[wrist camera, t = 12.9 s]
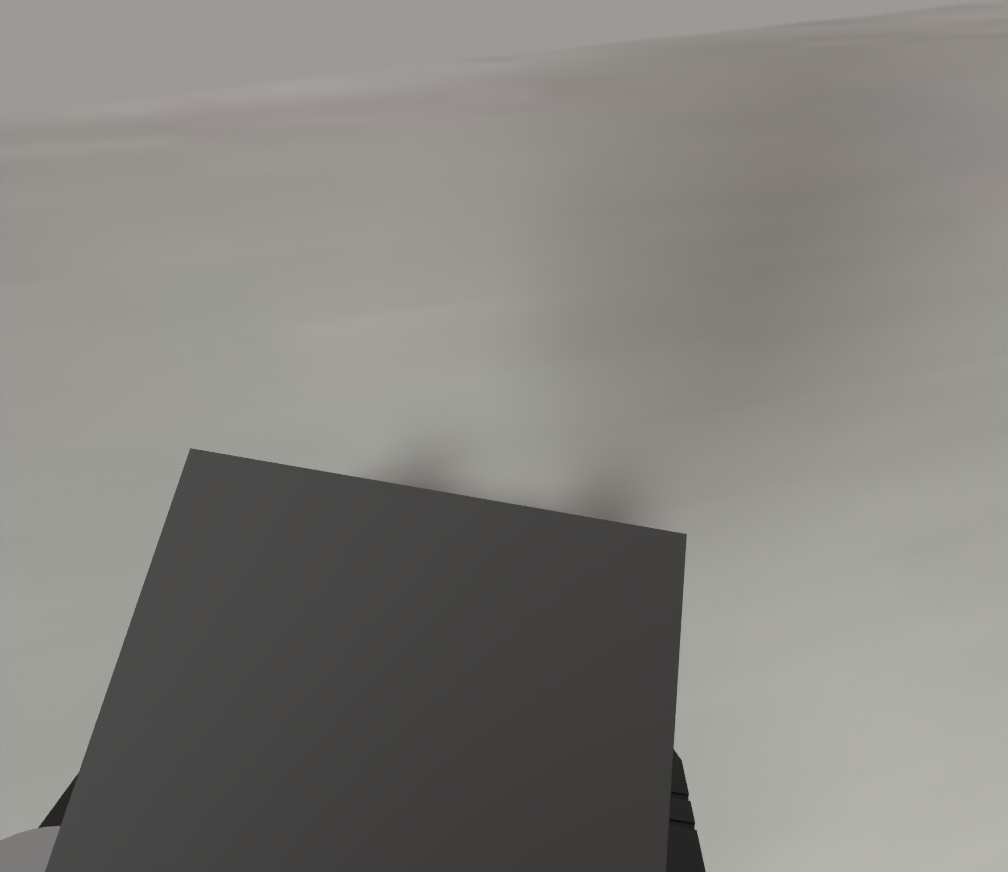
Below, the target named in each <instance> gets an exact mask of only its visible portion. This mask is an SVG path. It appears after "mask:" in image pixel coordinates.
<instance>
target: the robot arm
mask: <svg viewBox="0 0 1008 872" xmlns="http://www.w3.org/2000/svg"><path fill="white" fill-rule="evenodd" d="M78 774H79V773H78ZM78 774H77V776H76V777H75V779H74V780H73V781H72V783H71V784H70V785H69V787H68V788H67V789H66V791H65V792H64V794H63V795H62V796H61V798H60V799H59V800H58V802H57V803H56V804H55V806H54V807H53V809H52V810H51V811H50V813H49V814H48V815H47V817H46V818H45V819H44V821H43V822H42V824H41V825H40V826H39V827H38V828H37V829H32V830H28V831H25V832H22V833H18V834H15V835H13V836H11V837H8V838H6V839H3V840H1V841H0V872H45V870H46V867H47V864H48V861H49V858H50V855H51V852H52V850H53V847H54V844H55V841H56V838H57V835H58V832H59V829H60V826H61V823H62V820H63V818H64V815H65V812H66V809H67V806H68V803H69V800H70V797H71V794H72V791H73V788H74V786H75V783H76V780H77V777H78ZM688 796H689V793H688V788H687V783H686V779H685V774H684V769H683V765H682V760H681V759H680V758H679V756H678V755H677V753H676V752H675V751H674V749H673V762H672V778H671V795H670V811H669V827H668V843H667V860H666V872H705V867H704V862H703V858H702V853H701V848H700V844H699V839H698V835H697V830H695V829H694V825H695V821H694V816H693V811H692V807H691V802H690V801H688Z"/></svg>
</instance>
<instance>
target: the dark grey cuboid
mask: <svg viewBox="0 0 1008 872" xmlns="http://www.w3.org/2000/svg"><path fill="white" fill-rule="evenodd" d="M686 535H687V534H682V533H677V532H671V531H665V530H659V529H654V528H648V527H642V526H636V525H630V524H625V523H619V522H613V521H607V520H602V519H596V518H590V517H584V516H578V515H573V514H567V513H561V512H555V511H549V510H544V509H538V508H532V507H526V506H521V505H515V504H509V503H503V502H497V501H492V500H486V499H480V498H474V497H469V496H463V495H457V494H451V493H445V492H440V491H434V490H428V489H422V488H416V487H411V486H405V485H399V484H393V483H388V482H382V481H376V480H370V479H364V478H359V477H353V476H347V475H341V474H336V473H330V472H324V471H318V470H312V469H307V468H301V467H295V466H289V465H283V464H278V463H272V462H266V461H260V460H255V459H249V458H243V457H237V456H231V455H226V454H220V453H214V452H208V451H203V450H197V449H191V448H190V451H189V454H188V457H187V460H186V463H185V466H184V468H183V471H182V474H181V477H180V480H179V483H178V486H177V489H176V492H175V495H174V498H173V500H172V503H171V506H170V509H169V512H168V515H167V518H166V521H165V524H164V527H163V530H162V532H161V535H160V538H159V541H158V544H157V547H156V550H155V553H154V556H153V559H152V562H151V564H150V567H149V570H148V573H147V576H146V579H145V582H144V585H143V588H142V591H141V594H140V596H139V599H138V602H137V605H136V608H135V611H134V614H133V617H132V620H131V623H130V626H129V628H128V631H127V634H126V637H125V640H124V643H123V646H122V649H121V652H120V655H119V658H118V660H117V663H116V666H115V669H114V672H113V675H112V678H111V681H110V684H109V687H108V690H107V692H106V695H105V698H104V701H103V704H102V707H101V710H100V713H99V716H98V719H97V722H96V724H95V727H94V730H93V733H92V736H91V739H90V742H89V745H88V748H87V751H86V754H85V756H84V759H83V762H82V765H81V768H80V771H79V774H78V777H77V780H76V783H75V786H74V788H73V791H72V794H71V797H70V800H69V803H68V806H67V809H66V812H65V815H64V818H63V820H62V823H61V826H60V829H59V832H58V835H57V838H56V841H55V844H54V847H53V850H52V852H51V855H50V858H49V861H48V864H47V867H46V870H45V872H666V860H667V843H668V827H669V811H670V795H671V778H672V762H673V746H674V730H675V714H676V697H677V681H678V665H679V649H680V632H681V616H682V600H683V584H684V568H685V551H686Z"/></svg>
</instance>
